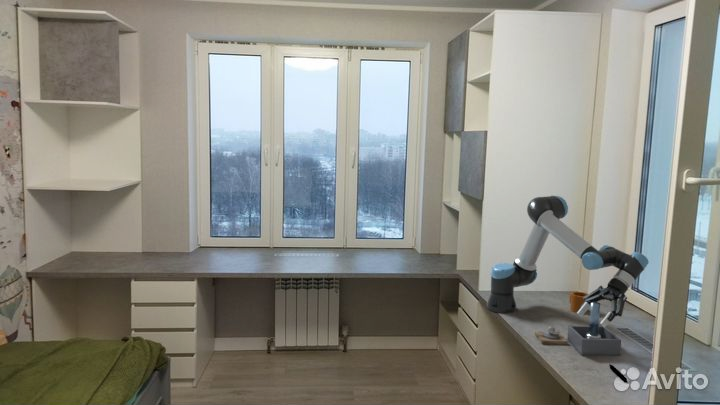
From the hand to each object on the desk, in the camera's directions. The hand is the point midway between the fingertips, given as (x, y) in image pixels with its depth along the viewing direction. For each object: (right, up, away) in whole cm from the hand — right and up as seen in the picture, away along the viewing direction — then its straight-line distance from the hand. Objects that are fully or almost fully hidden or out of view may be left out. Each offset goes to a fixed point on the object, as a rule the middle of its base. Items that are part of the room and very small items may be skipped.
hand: (590, 320), depth 222 cm
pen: (0, -16, -23) cm, 28 cm away
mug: (+17, -6, +53) cm, 56 cm away
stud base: (-13, -11, +12) cm, 21 cm away
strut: (+2, -11, +2) cm, 12 cm away
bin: (+2, -12, +2) cm, 13 cm away
